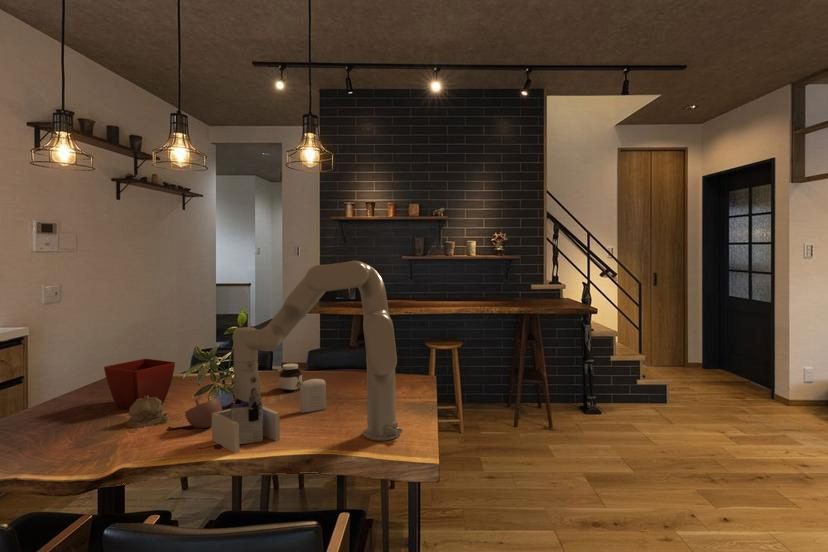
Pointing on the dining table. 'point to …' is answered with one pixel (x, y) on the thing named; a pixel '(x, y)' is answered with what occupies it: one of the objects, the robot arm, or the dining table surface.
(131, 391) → the plant pot
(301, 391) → the photo printer
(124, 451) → the dining table surface
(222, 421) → the cubby
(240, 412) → the ink cartridge box
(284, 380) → the spread jar
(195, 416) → the mortar and pestle
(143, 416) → the ceramic model
